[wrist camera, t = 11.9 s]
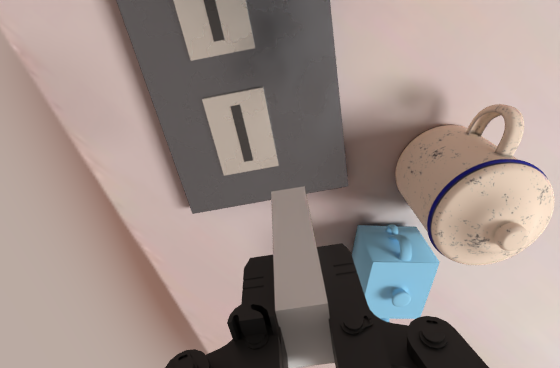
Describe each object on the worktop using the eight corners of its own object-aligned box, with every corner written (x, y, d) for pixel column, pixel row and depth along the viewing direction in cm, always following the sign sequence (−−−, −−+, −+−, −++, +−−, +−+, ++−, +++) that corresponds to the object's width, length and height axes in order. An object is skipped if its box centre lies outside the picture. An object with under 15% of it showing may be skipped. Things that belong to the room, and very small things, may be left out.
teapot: (391, 294, 42) (415, 351, 35) (340, 294, 41) (355, 351, 35) (416, 209, 36) (450, 257, 29) (358, 207, 36) (379, 255, 29)
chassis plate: (60, -176, 21) (46, -188, 20) (303, -233, 21) (306, -249, 19) (194, 207, 35) (191, 216, 33) (345, 180, 34) (349, 188, 32)
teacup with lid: (462, 212, 36) (541, 297, 26) (379, 200, 35) (426, 284, 25) (519, 98, 31) (647, 149, 21) (423, 80, 30) (507, 124, 19)
